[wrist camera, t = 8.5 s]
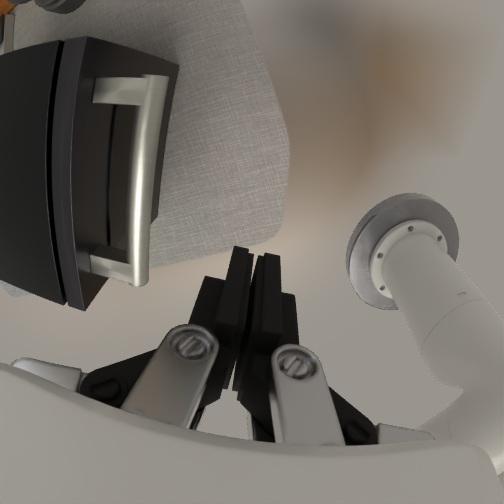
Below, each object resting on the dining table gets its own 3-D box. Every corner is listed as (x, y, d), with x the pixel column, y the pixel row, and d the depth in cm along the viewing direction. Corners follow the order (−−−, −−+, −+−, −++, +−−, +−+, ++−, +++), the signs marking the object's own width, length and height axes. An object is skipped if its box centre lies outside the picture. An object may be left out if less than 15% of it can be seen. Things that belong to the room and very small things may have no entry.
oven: (163, 64, 25) (59, 39, 9) (144, 213, 34) (64, 306, 18) (44, 69, 24) (-64, 82, 8) (38, 193, 32) (-49, 255, 17)
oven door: (218, 69, 25) (161, 31, 10) (191, 223, 34) (137, 327, 18) (165, 64, 25) (64, 39, 9) (145, 214, 33) (68, 305, 18)
